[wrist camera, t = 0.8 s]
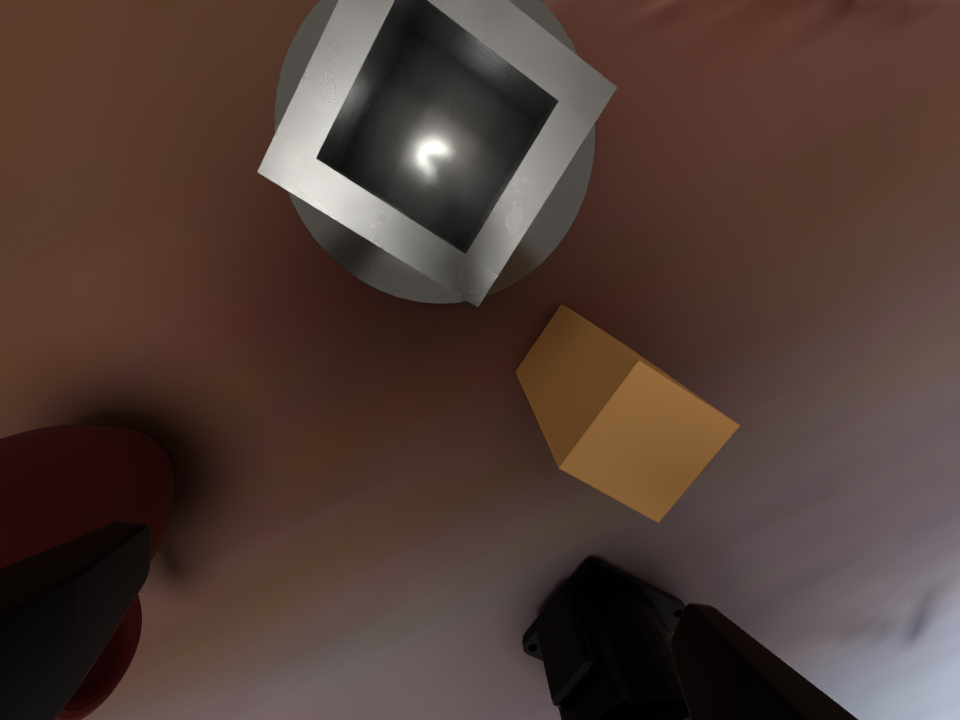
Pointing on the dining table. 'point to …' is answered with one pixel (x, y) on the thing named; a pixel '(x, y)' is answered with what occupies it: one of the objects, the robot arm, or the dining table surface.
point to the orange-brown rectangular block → (618, 416)
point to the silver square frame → (435, 140)
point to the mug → (84, 515)
